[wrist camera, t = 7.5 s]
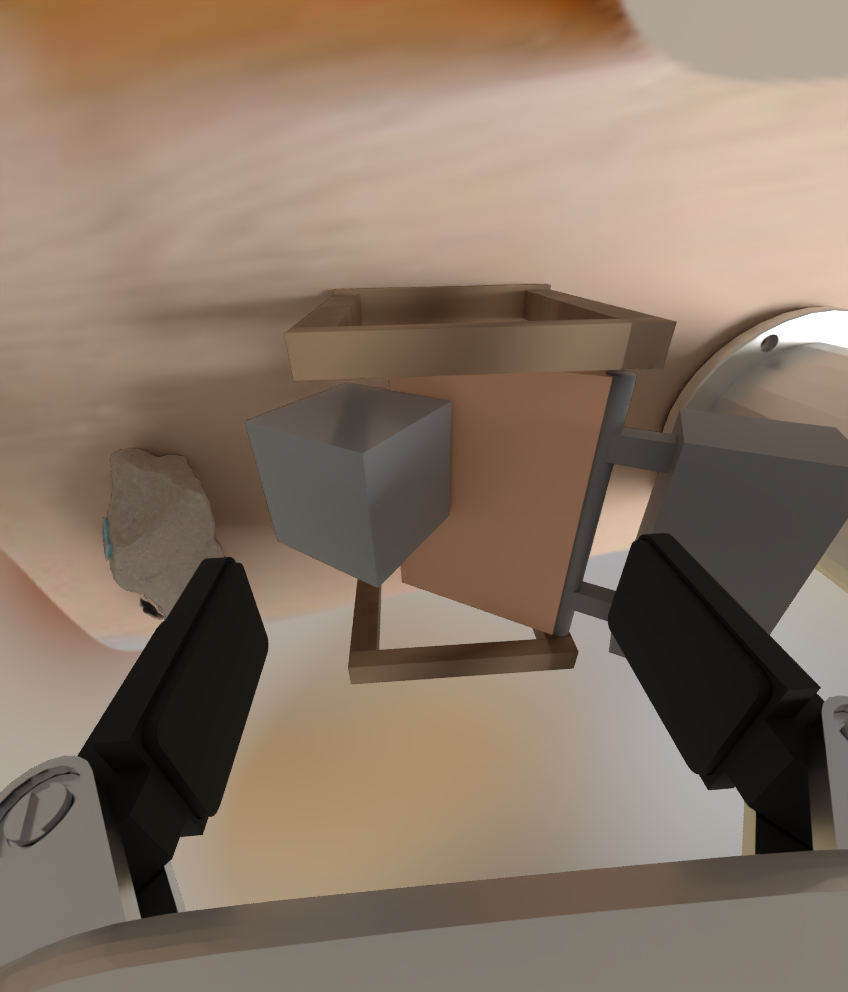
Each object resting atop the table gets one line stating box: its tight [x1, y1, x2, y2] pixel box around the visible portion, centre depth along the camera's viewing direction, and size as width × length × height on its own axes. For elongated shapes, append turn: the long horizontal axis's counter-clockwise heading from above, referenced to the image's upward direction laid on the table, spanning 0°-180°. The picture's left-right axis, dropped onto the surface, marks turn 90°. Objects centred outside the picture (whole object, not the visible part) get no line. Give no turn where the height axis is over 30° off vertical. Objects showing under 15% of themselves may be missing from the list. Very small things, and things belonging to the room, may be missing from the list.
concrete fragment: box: [103, 448, 224, 620], centre depth 23 cm, size 7×14×6 cm, turn 167°
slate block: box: [245, 383, 452, 588], centre depth 15 cm, size 5×5×5 cm
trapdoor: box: [389, 370, 848, 658], centre depth 16 cm, size 14×12×3 cm
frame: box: [284, 284, 676, 684], centre depth 19 cm, size 10×15×10 cm
